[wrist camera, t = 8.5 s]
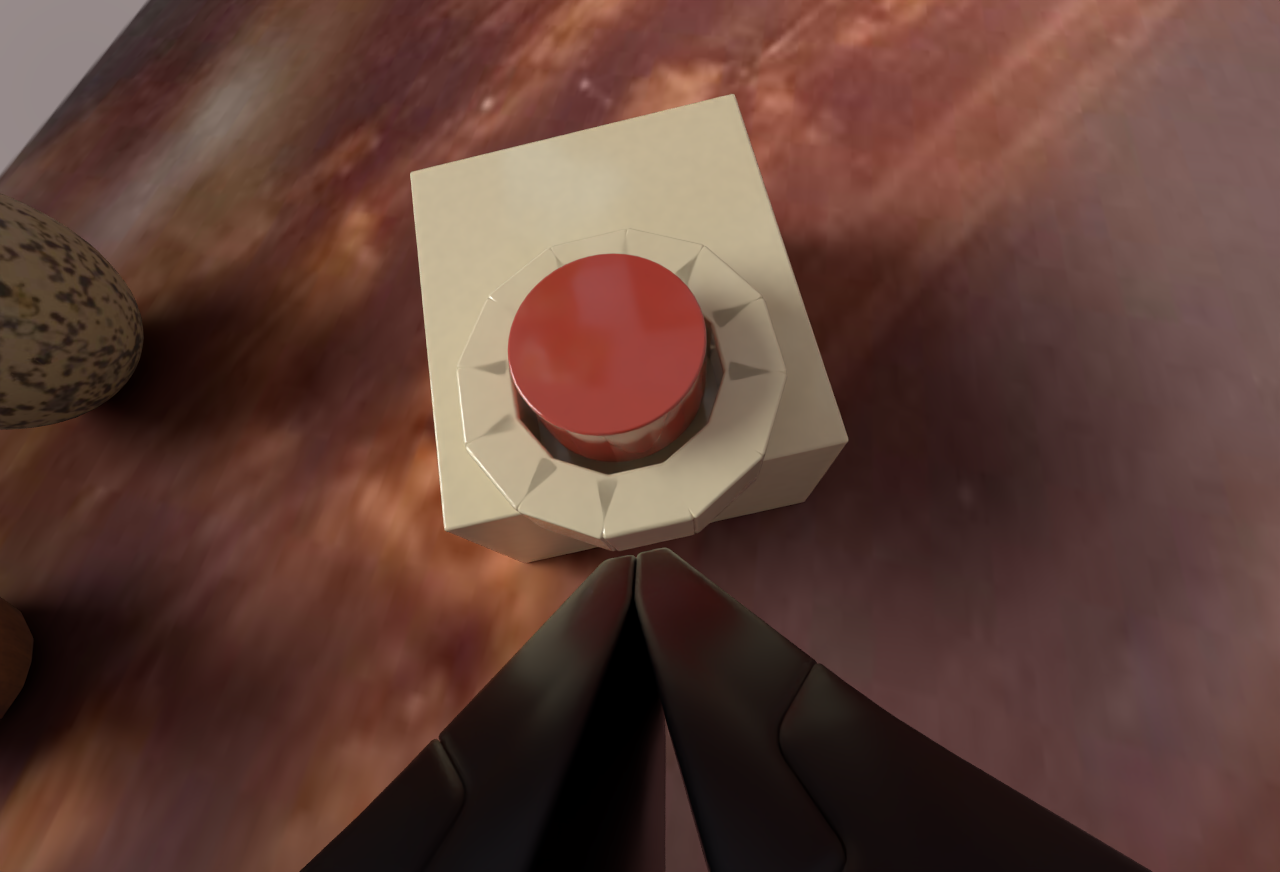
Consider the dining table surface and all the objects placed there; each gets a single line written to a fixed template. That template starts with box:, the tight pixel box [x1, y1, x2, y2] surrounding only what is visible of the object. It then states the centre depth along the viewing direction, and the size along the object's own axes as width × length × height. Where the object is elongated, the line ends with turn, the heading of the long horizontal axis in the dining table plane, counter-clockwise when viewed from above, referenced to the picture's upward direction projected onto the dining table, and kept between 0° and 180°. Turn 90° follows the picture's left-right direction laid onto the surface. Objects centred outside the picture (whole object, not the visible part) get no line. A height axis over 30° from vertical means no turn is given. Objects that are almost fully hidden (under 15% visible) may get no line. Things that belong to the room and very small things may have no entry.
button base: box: [410, 94, 848, 563], centre depth 17 cm, size 11×9×8 cm
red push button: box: [507, 253, 707, 462], centre depth 12 cm, size 4×4×2 cm
